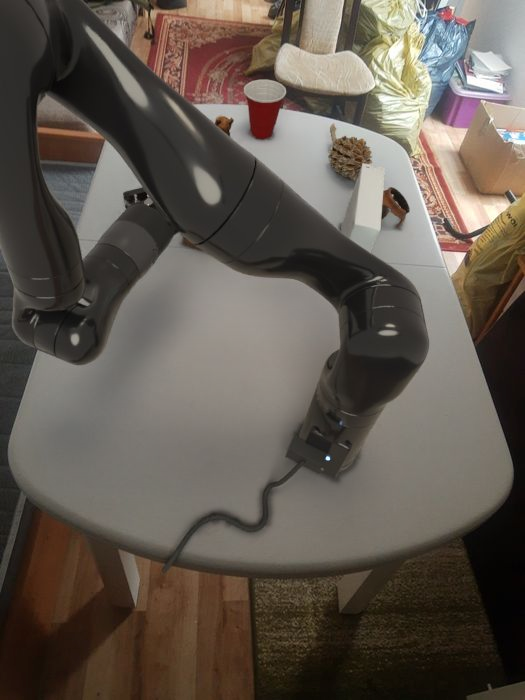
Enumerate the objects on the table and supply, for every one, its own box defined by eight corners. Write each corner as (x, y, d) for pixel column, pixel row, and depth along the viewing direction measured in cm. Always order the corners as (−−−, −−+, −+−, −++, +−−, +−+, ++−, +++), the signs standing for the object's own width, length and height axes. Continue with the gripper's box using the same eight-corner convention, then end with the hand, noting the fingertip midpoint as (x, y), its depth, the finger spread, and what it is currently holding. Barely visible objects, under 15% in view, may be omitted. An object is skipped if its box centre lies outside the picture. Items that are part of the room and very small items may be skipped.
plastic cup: (232, 129, 131) (235, 83, 121) (264, 120, 135) (268, 75, 126) (256, 148, 126) (261, 102, 116) (288, 138, 130) (295, 93, 121)
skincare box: (357, 293, 97) (381, 230, 84) (331, 287, 97) (350, 223, 84) (364, 229, 110) (386, 166, 97) (341, 224, 110) (359, 161, 97)
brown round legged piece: (365, 202, 117) (392, 179, 112) (390, 232, 118) (417, 210, 112) (348, 214, 108) (376, 190, 103) (375, 247, 109) (404, 224, 103)
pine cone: (374, 189, 120) (387, 152, 112) (340, 193, 117) (350, 156, 109) (338, 142, 132) (347, 106, 124) (306, 145, 129) (313, 108, 122)
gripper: (174, 237, 63) (225, 170, 73) (85, 209, 65) (147, 147, 75) (177, 279, 69) (224, 211, 79) (95, 251, 70) (151, 189, 81)
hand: (186, 180), depth 77 cm, fingers closed
